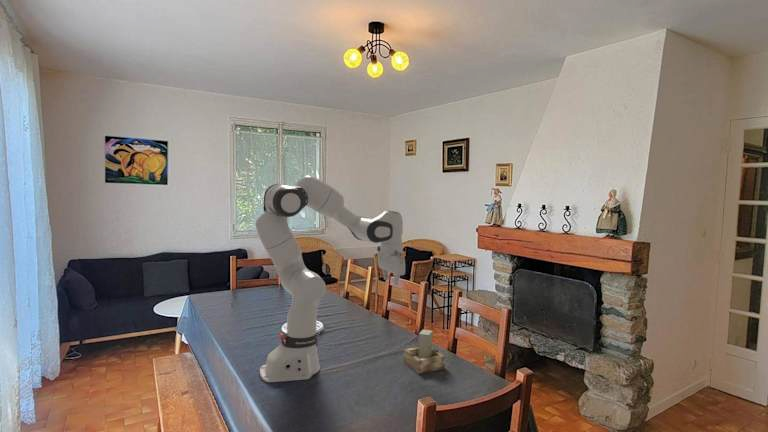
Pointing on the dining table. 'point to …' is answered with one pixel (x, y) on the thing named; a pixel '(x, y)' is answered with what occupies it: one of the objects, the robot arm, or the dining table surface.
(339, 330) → the dining table surface
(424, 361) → the socket block
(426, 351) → the skincare box
